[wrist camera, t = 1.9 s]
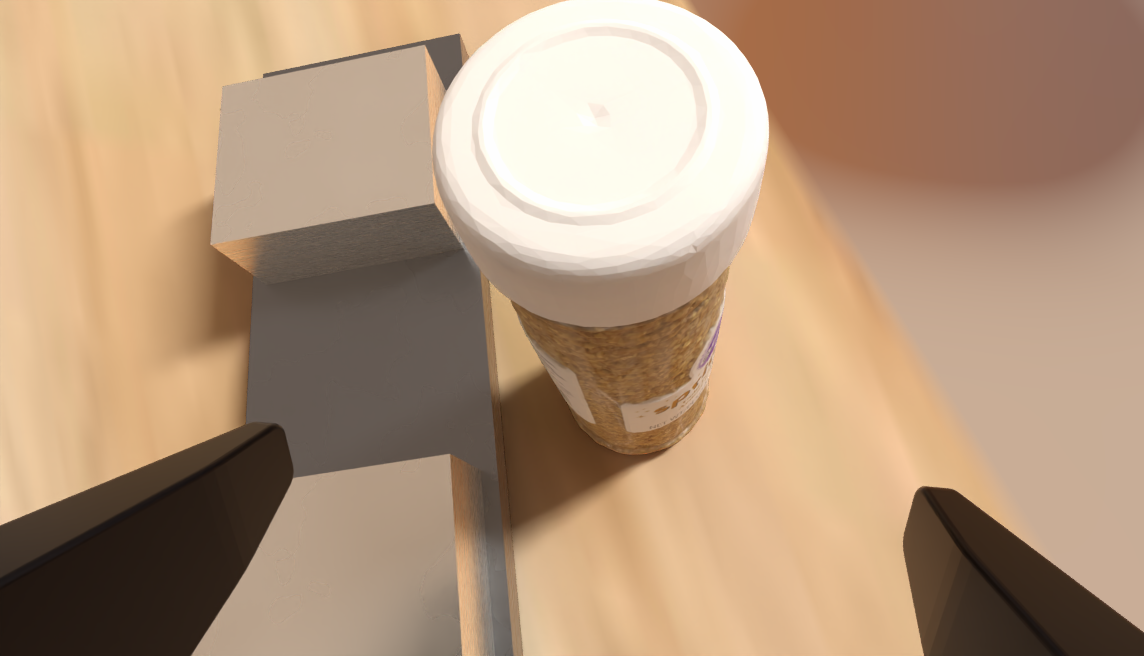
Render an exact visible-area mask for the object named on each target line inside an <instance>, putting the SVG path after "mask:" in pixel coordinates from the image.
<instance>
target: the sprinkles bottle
mask: <svg viewBox="0 0 1144 656" xmlns="http://www.w3.org/2000/svg"><path fill="white" fill-rule="evenodd" d="M768 140H769V123H768V113H767V107H766V101H765V98H764V95H763V92H762V89H761V87H760V84H759V81H758V78H757V77H756V75H755V73H754V71H753V69H752V67H751V66H750V64H749V63H748V61H747V59H746V58H745V57H744V55H743V54H742V53H741V51H740V50H739V49H738V48H737V47H736V45H735V44H734V43H733V42H732V41H731V40H730V39H729V38H728V37H727V36H726V35H725V34H723V33H722V32H721V31H720V30H718V29H717V28H716V27H714V26H713V25H711V24H710V23H708V22H707V21H706V20H704V19H702V18H700V17H698V16H696V15H694V14H692V13H691V12H689V11H687V10H685V9H683V8H680V7H677V6H674V5H671V4H668V3H665V2H661V1H658V0H569V1H564V2H560V3H557V4H554V5H550V6H548V7H545V8H542V9H540V10H537V11H535V12H532V13H529V14H527V15H525V16H524V17H522V18H520V19H518V20H516V21H515V22H513V23H511V24H509V25H508V26H506V27H505V28H503V29H502V30H501V31H499V32H498V33H496V34H495V35H494V36H493V37H492V38H490V39H489V40H488V41H487V42H486V43H484V44H483V45H482V46H481V47H480V48H478V49H477V50H476V51H475V53H474V54H473V55H472V56H471V57H470V58H469V59H468V60H467V61H466V62H465V64H464V65H463V66H462V68H461V69H460V71H459V72H458V73H457V75H456V76H455V78H454V79H453V81H452V83H451V84H450V86H449V88H448V90H447V91H446V93H445V96H444V98H443V100H442V102H441V105H440V108H439V112H438V115H437V118H436V122H435V128H434V134H433V145H432V163H433V169H434V176H435V180H436V184H437V188H438V191H439V194H440V197H441V199H442V201H443V204H444V206H445V209H446V211H447V212H448V214H449V216H450V218H451V220H452V222H453V224H454V226H455V228H456V230H457V232H458V233H459V235H460V237H461V239H462V241H463V242H464V244H465V246H466V248H467V250H468V251H469V253H470V255H471V256H472V258H473V260H474V261H475V263H476V265H477V266H478V267H479V269H480V270H481V272H482V273H483V274H484V276H485V277H486V278H487V279H488V280H489V281H490V282H491V283H492V284H493V285H494V286H495V287H496V288H497V289H498V290H499V291H500V292H501V293H503V294H504V295H505V296H506V297H507V298H509V299H510V300H511V303H512V305H513V307H514V309H515V311H516V312H517V315H518V318H519V321H520V324H521V326H522V328H523V330H524V332H525V334H526V336H527V337H528V339H529V341H530V343H531V344H532V346H533V348H534V349H535V351H536V353H537V354H538V356H539V358H540V360H541V362H542V363H543V365H544V367H545V368H546V370H547V371H548V373H549V375H550V376H551V378H552V380H553V381H554V383H555V384H556V386H557V388H558V389H559V391H560V393H561V394H562V396H563V397H564V399H565V400H566V402H567V403H568V406H569V408H570V410H571V412H572V414H573V416H574V419H575V420H576V422H577V423H578V425H579V426H580V428H581V429H582V430H584V431H585V432H586V433H587V434H588V435H589V436H590V437H591V438H592V439H593V440H594V441H595V442H596V443H598V444H601V445H603V446H605V447H606V448H608V449H611V450H613V451H616V452H618V453H622V454H648V453H652V452H654V451H660V450H662V449H665V448H668V447H670V446H672V445H674V444H675V443H677V442H678V441H680V440H681V439H682V438H683V437H684V436H685V435H687V434H688V433H689V432H690V431H691V430H692V428H693V427H694V425H695V424H696V423H697V421H698V420H699V418H700V416H701V415H702V414H703V412H704V409H705V405H706V401H707V397H708V393H709V376H710V373H711V369H712V364H713V358H714V353H715V348H716V343H717V338H718V333H719V328H720V323H721V318H722V313H723V309H724V301H725V285H726V282H727V279H728V273H729V265H730V264H731V263H732V261H733V260H734V258H735V256H736V255H737V253H738V252H739V250H740V248H741V247H742V245H743V243H744V241H745V238H746V236H747V234H748V231H749V228H750V225H751V222H752V219H753V216H754V212H755V209H756V205H757V201H758V197H759V193H760V188H761V183H762V178H763V174H764V168H765V163H766V157H767V151H768Z"/></svg>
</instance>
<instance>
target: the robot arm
mask: <svg viewBox="0 0 1144 656" xmlns="http://www.w3.org/2000/svg"><path fill="white" fill-rule="evenodd" d="M293 474H294V468H293V463H292V459H291V455H290V450H289V446H288V442H287V438H286V434H285V431H284V429H283V428H282V426H280V425H279V424H276V423H267V422H251V423H248V424H246V425H244V426H241V427H239V428H236V429H234V430H231V431H229V432H227V433H224V434H222V435H219V436H217V437H214V438H212V439H210V440H207V441H205V442H202V443H200V444H197V445H195V446H192V447H190V448H188V449H185V450H183V451H180V452H178V453H175V454H173V455H171V456H168V457H166V458H163V459H161V460H158V461H156V462H154V463H151V464H149V465H146V466H144V467H141V468H139V469H137V470H134V471H132V472H129V473H127V474H124V475H122V476H119V477H117V478H115V479H112V480H110V481H107V482H105V483H102V484H100V485H98V486H95V487H93V488H90V489H88V490H85V491H83V492H81V493H78V494H76V495H73V496H71V497H68V498H66V499H63V500H61V501H59V502H56V503H54V504H51V505H49V506H46V507H44V508H42V509H39V510H37V511H34V512H32V513H29V514H27V515H25V516H22V517H20V518H17V519H15V520H12V521H10V522H8V523H5V524H3V525H0V656H191V655H192V654H193V652H194V651H195V649H196V648H197V646H198V644H199V643H200V641H201V640H202V638H203V637H204V635H205V634H206V632H207V631H208V629H209V628H210V626H211V624H212V623H213V621H214V620H215V618H216V617H217V615H218V614H219V612H220V611H221V609H222V607H223V606H224V604H225V603H226V601H227V600H228V598H229V597H230V595H231V594H232V592H233V590H234V589H235V587H236V586H237V584H238V583H239V581H240V579H241V578H242V576H243V574H244V573H245V571H246V569H247V568H248V566H249V564H250V562H251V560H252V559H253V557H254V555H255V553H256V551H257V549H258V547H259V545H260V543H261V541H262V539H263V537H264V535H265V534H266V532H267V530H268V528H269V526H270V524H271V522H272V520H273V518H274V516H275V514H276V512H277V510H278V508H279V506H280V505H281V503H282V501H283V499H284V497H285V495H286V493H287V491H288V489H289V487H290V485H291V483H292V479H293ZM903 551H904V557H905V562H906V567H907V572H908V577H909V582H910V588H911V593H912V598H913V603H914V608H915V613H916V618H917V623H918V628H919V633H920V638H921V644H922V648H923V653H924V656H1144V632H1143V631H1141V630H1140V629H1139V628H1137V627H1136V626H1135V625H1133V624H1132V623H1131V622H1129V621H1128V620H1127V619H1125V618H1124V617H1123V616H1121V615H1120V614H1119V613H1117V612H1116V611H1115V610H1113V609H1112V608H1111V607H1109V606H1108V605H1107V604H1106V603H1104V602H1103V601H1102V600H1100V599H1099V598H1098V597H1096V596H1095V595H1094V594H1092V593H1091V592H1090V591H1088V590H1087V589H1086V588H1084V587H1083V586H1082V585H1080V584H1079V583H1078V582H1076V581H1075V580H1074V579H1072V578H1071V577H1070V576H1068V575H1067V574H1066V573H1064V572H1063V571H1062V570H1061V569H1059V568H1058V567H1057V566H1055V565H1054V564H1053V563H1051V562H1050V561H1049V560H1047V559H1046V558H1045V557H1043V556H1042V555H1041V554H1039V553H1038V552H1037V551H1035V550H1034V549H1033V548H1031V547H1030V546H1029V545H1027V544H1026V543H1025V542H1023V541H1022V540H1021V539H1019V538H1018V537H1017V536H1016V535H1014V534H1013V533H1012V532H1010V531H1009V530H1008V529H1006V528H1005V527H1004V526H1002V525H1001V524H1000V523H998V522H997V521H996V520H994V519H993V518H992V517H990V516H989V515H988V514H986V513H985V512H984V511H982V510H981V509H980V508H978V507H977V506H976V505H974V504H973V503H972V502H971V501H969V500H968V499H967V498H965V497H964V496H963V495H961V494H960V493H958V492H957V491H955V490H953V489H949V488H939V487H928V486H922V487H920V488H919V489H918V490H917V491H916V493H915V495H914V498H913V502H912V506H911V509H910V513H909V517H908V521H907V524H906V528H905V532H904V537H903Z"/></svg>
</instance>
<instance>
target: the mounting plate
mask: <svg viewBox="0 0 1144 656" xmlns="http://www.w3.org/2000/svg"><path fill="white" fill-rule="evenodd" d="M468 59H469V56H468V54H467V51H466V48H465V46H464V43H463V41H462V38H461V35H460V34H455V35H450V36H445V37H441V38H436V39H431V40H426V41H421V42H416V43H411V44H407V45H402V46H397V47H392V48H387V49H382V50H378V51H373V52H368V53H363V54H358V55H353V56H349V57H344V58H339V59H334V60H329V61H324V62H320V63H315V64H310V65H305V66H300V67H295V68H290V69H286V70H281V71H276V72H271V73H266V74H263V78H261V79H257V80H252V81H247V82H242V83H237V84H232V85H227V86H223V88H222V101H221V114H220V127H219V140H218V153H217V166H216V178H215V191H214V204H213V217H212V230H211V243H210V245H211V246H213V247H214V248H216V249H217V250H218V251H220V252H221V253H223V254H224V255H225V256H227V257H228V258H230V259H231V260H233V261H234V262H235V263H237V264H238V265H240V266H241V267H242V268H244V269H245V270H247V271H248V272H249V273H251V274H252V275H253V291H252V311H251V331H250V351H249V371H248V391H247V411H246V424H248V423H251V422H267V423H276V424H279V425H280V426H282V428H283V429H284V431H285V434H286V438H287V442H288V446H289V450H290V455H291V459H292V463H293V468H294V474H293V479H292V483H291V485H290V487H289V489H288V491H287V493H286V495H285V497H284V499H283V501H282V503H281V505H280V506H279V508H278V510H277V512H276V514H275V516H274V518H273V520H272V522H271V524H270V526H269V528H268V530H267V532H266V534H265V535H264V537H263V539H262V541H261V543H260V545H259V547H258V549H257V551H256V553H255V555H254V557H253V559H252V560H251V562H250V564H249V566H248V568H247V569H246V571H245V573H244V574H243V576H242V578H241V579H240V581H239V583H238V584H237V586H236V587H235V589H234V590H233V592H232V594H231V595H230V597H229V598H228V600H227V601H226V603H225V604H224V606H223V607H222V609H221V611H220V612H219V614H218V615H217V617H216V618H215V620H214V621H213V623H212V624H211V626H210V628H209V629H208V631H207V632H206V634H205V635H204V637H203V638H202V640H201V641H200V643H199V644H198V646H197V648H196V649H195V651H194V652H193V654H192V655H191V656H523V650H522V639H521V628H520V617H519V606H518V595H517V584H516V573H515V562H514V551H513V540H512V529H511V518H510V507H509V496H508V485H507V474H506V463H505V452H504V441H503V430H502V419H501V408H500V397H499V386H498V375H497V364H496V353H495V342H494V331H493V320H492V309H491V298H490V287H489V280H488V279H487V278H486V277H485V276H484V274H483V273H482V272H481V270H480V269H479V267H478V266H477V265H476V263H475V261H474V260H473V258H472V256H471V255H470V253H469V251H468V250H467V248H466V246H465V244H464V242H463V241H462V239H461V237H460V235H459V233H458V232H457V230H456V228H455V226H454V224H453V222H452V220H451V218H450V216H449V214H448V212H447V211H446V209H445V206H444V204H443V201H442V199H441V197H440V194H439V191H438V188H437V184H436V180H435V176H434V169H433V163H432V145H433V134H434V128H435V122H436V118H437V115H438V112H439V108H440V105H441V102H442V100H443V98H444V96H445V93H446V91H447V90H448V88H449V86H450V84H451V83H452V81H453V79H454V78H455V76H456V75H457V73H458V72H459V71H460V69H461V68H462V66H463V65H464V64H465V62H466V61H467V60H468Z"/></svg>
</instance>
